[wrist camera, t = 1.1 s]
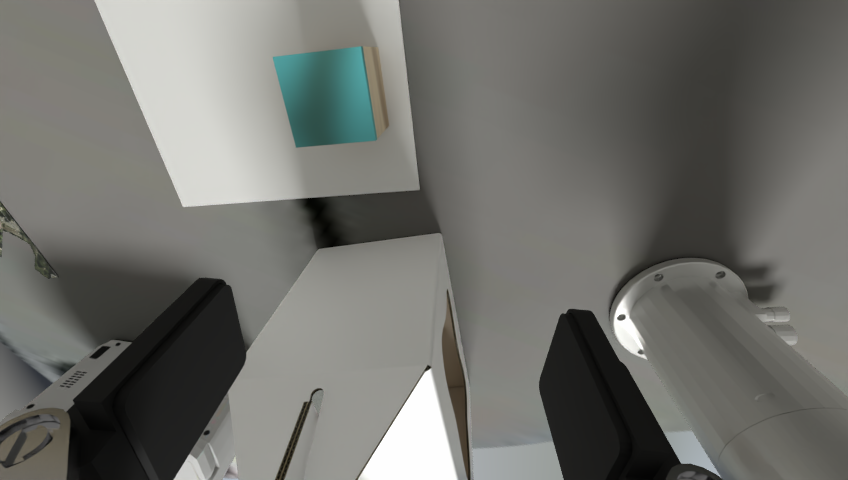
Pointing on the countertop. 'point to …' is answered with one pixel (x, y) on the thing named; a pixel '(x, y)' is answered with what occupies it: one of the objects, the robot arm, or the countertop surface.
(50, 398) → the stereo radio cassette player
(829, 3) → the countertop surface
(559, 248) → the countertop surface
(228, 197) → the mat
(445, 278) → the gable box
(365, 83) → the block
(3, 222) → the eiffel tower figurine
